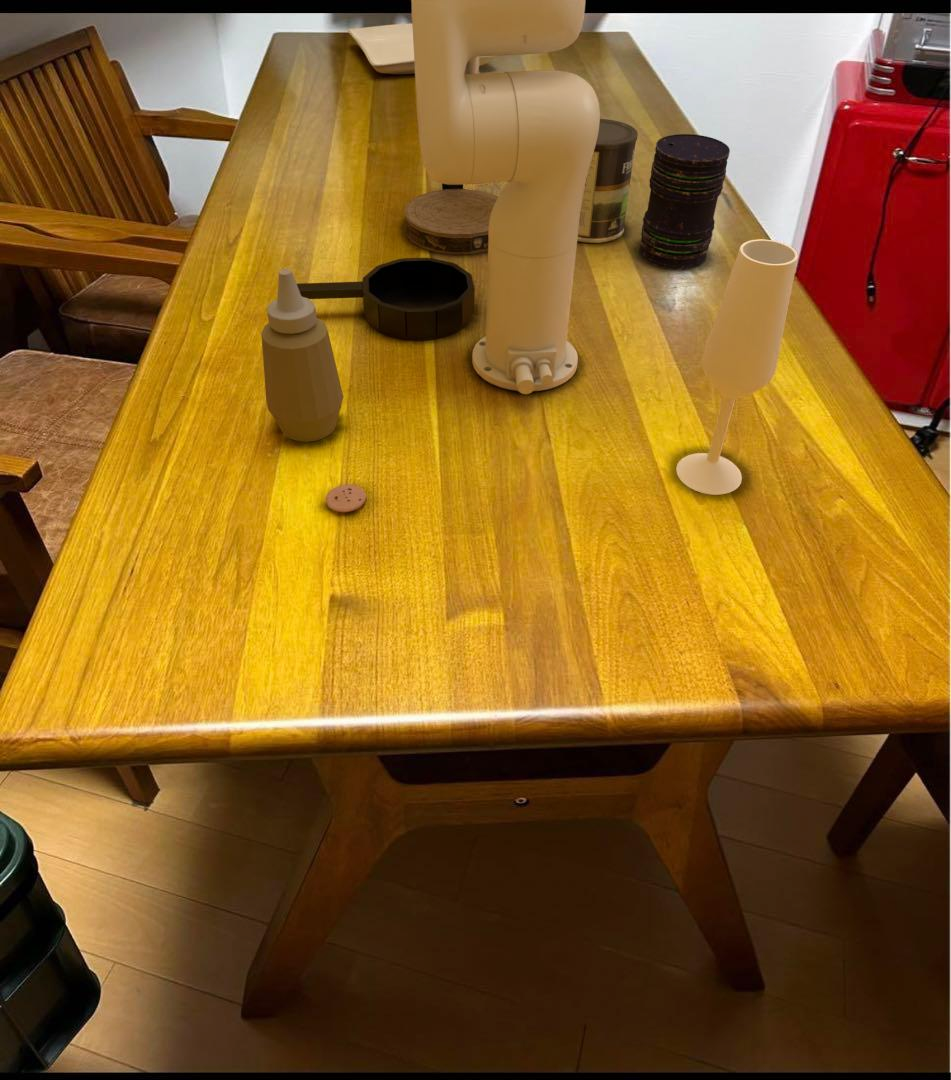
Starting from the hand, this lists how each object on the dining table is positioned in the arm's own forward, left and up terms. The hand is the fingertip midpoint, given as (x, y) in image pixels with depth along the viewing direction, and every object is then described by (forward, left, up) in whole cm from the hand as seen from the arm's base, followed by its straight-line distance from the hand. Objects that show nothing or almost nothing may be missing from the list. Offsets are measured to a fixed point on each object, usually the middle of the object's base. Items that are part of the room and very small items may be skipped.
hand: (452, 191), depth 132 cm
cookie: (-69, +16, -2) cm, 71 cm away
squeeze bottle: (-57, +20, -2) cm, 60 cm away
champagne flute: (-68, -21, -2) cm, 71 cm away
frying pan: (-33, +12, -2) cm, 35 cm away
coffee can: (-10, -20, -2) cm, 23 cm away
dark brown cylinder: (-19, -30, -2) cm, 36 cm away
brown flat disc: (-9, 0, -2) cm, 10 cm away
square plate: (+78, +1, -2) cm, 78 cm away
